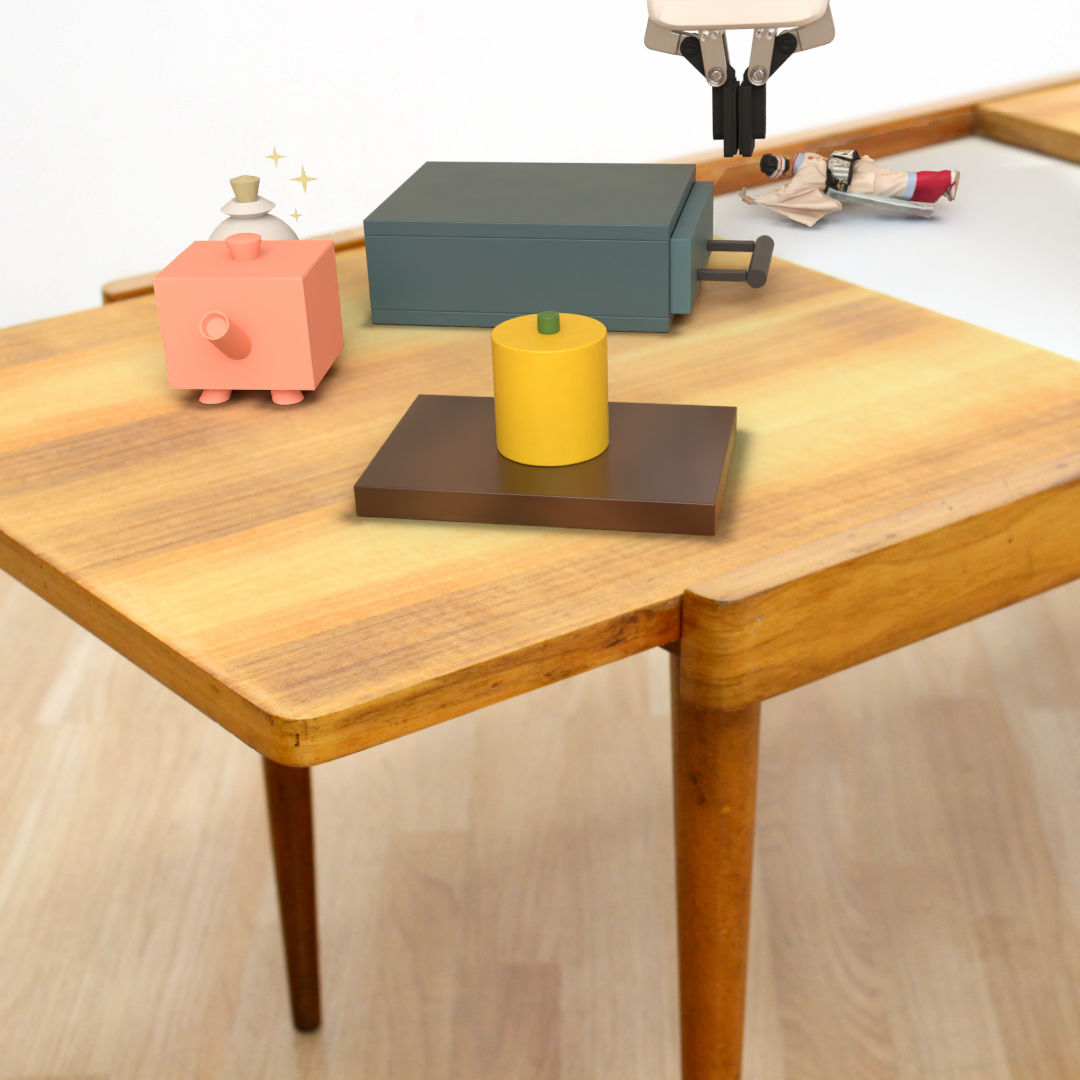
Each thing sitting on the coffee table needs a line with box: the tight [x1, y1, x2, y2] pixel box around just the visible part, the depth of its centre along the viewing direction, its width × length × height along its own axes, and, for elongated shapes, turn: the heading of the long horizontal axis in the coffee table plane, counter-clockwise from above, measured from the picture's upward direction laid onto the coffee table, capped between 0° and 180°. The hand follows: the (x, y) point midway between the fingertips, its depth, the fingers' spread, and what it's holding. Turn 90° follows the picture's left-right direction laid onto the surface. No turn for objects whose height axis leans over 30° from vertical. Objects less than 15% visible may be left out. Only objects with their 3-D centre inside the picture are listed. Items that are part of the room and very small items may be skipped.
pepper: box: [490, 311, 609, 466], centre depth 70 cm, size 5×5×6 cm
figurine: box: [736, 149, 961, 228], centre depth 110 cm, size 6×8×15 cm
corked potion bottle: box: [207, 145, 318, 241], centre depth 94 cm, size 6×7×10 cm
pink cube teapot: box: [152, 233, 345, 406], centre depth 82 cm, size 8×12×8 cm, turn 173°
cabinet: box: [362, 160, 697, 333], centre depth 96 cm, size 18×14×6 cm
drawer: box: [670, 180, 775, 315], centre depth 95 cm, size 21×13×4 cm, turn 79°
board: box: [353, 393, 738, 536], centre depth 72 cm, size 16×11×2 cm
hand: (739, 151), depth 91 cm, fingers closed
